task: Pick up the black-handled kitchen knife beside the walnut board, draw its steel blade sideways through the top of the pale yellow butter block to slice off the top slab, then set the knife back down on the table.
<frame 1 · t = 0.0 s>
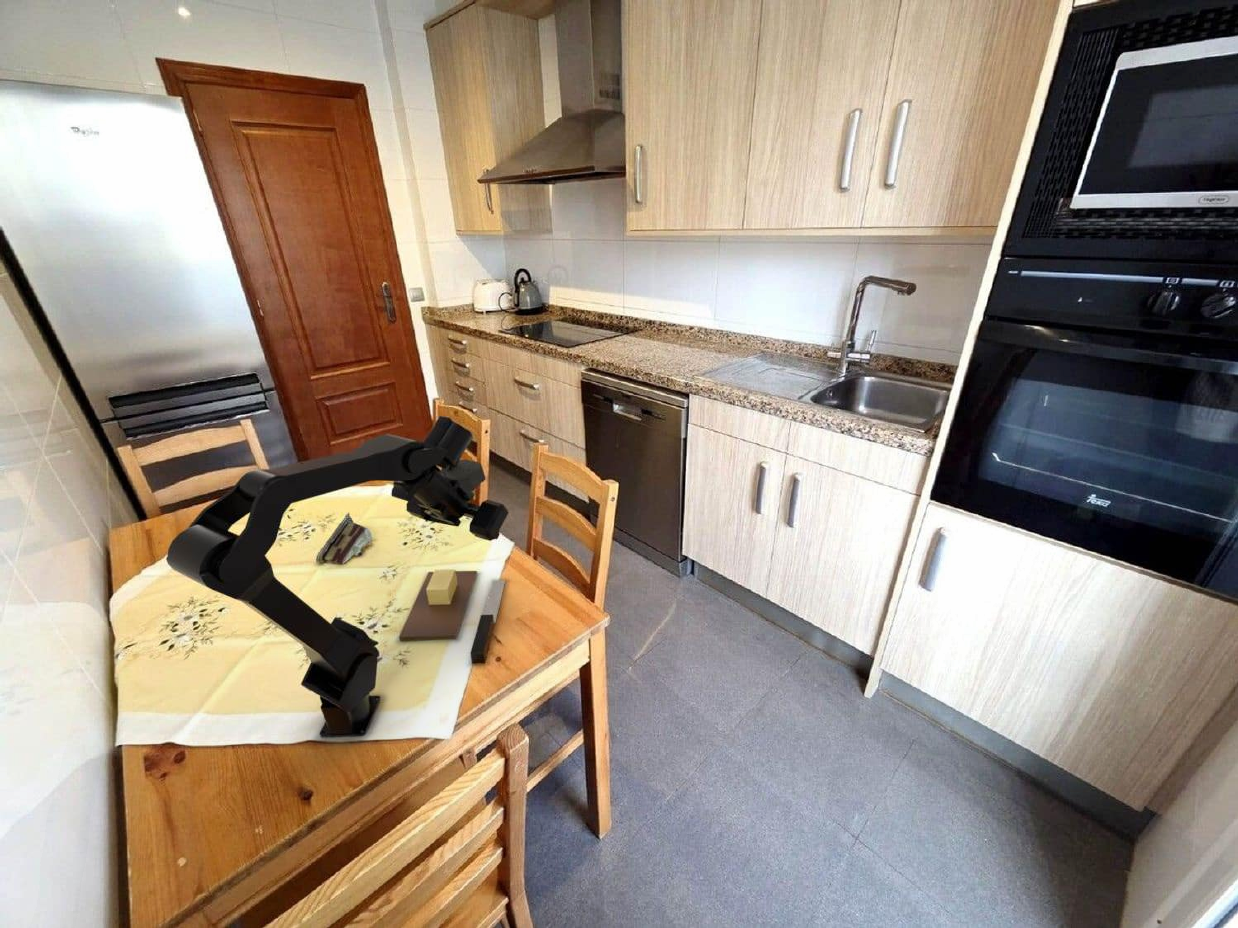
hand: (478, 530, 94), 15 cm above the table, tool tilted 35°, fingers open, 9 cm apart
knife: (486, 630, 92), on the table
chocolate cake: (350, 552, 112), on the table
butter slab: (441, 583, 98), point 3 cm above the table, touching butter block
board: (441, 604, 97), on the table
butter block: (443, 593, 99), point 1 cm above the table, touching board, butter slab
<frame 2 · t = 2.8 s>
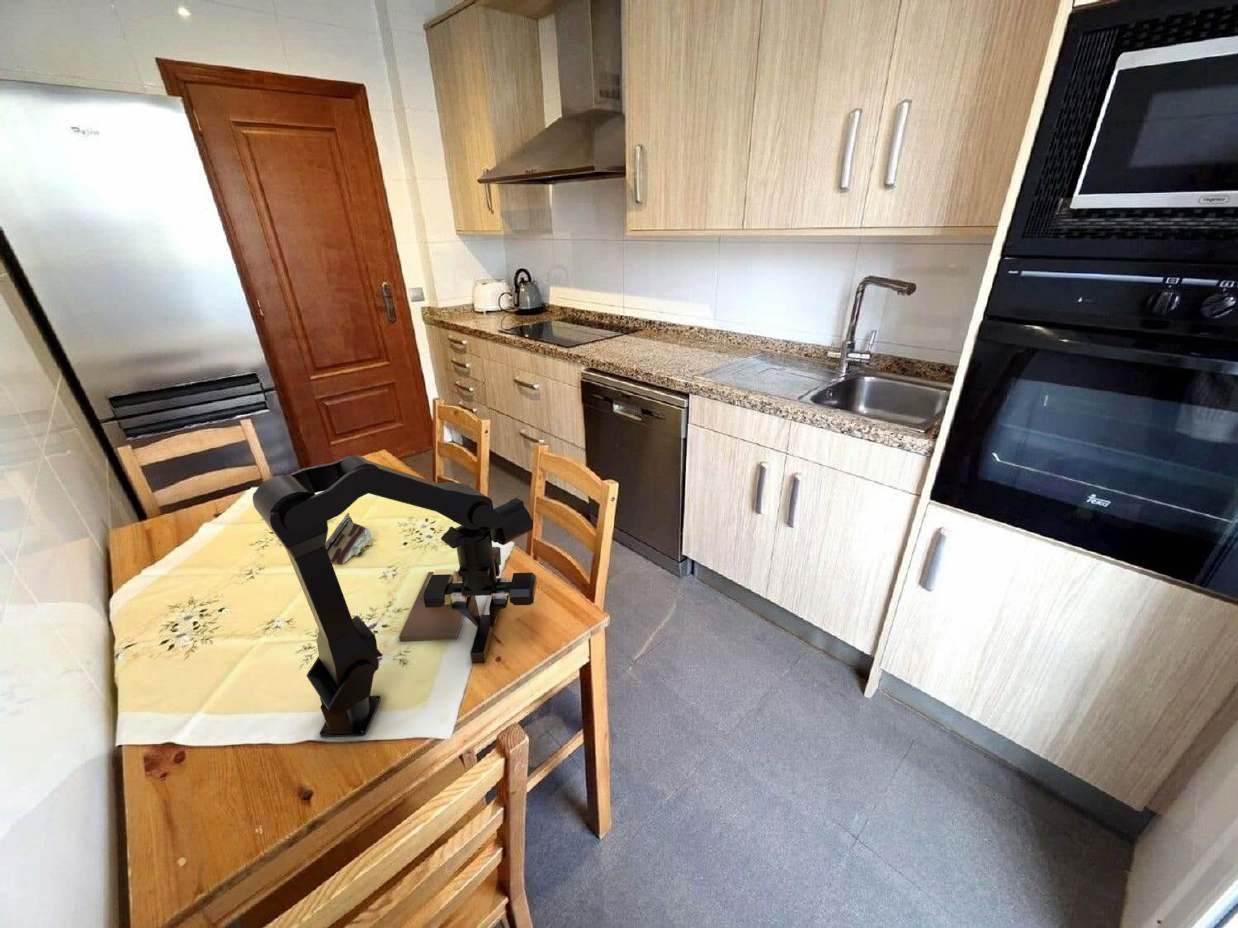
hand: (486, 625, 91), 1 cm above the table, tool pointing down, fingers closed on knife, 2 cm apart
knife: (486, 630, 92), on the table, touching gripper
everything else where it was.
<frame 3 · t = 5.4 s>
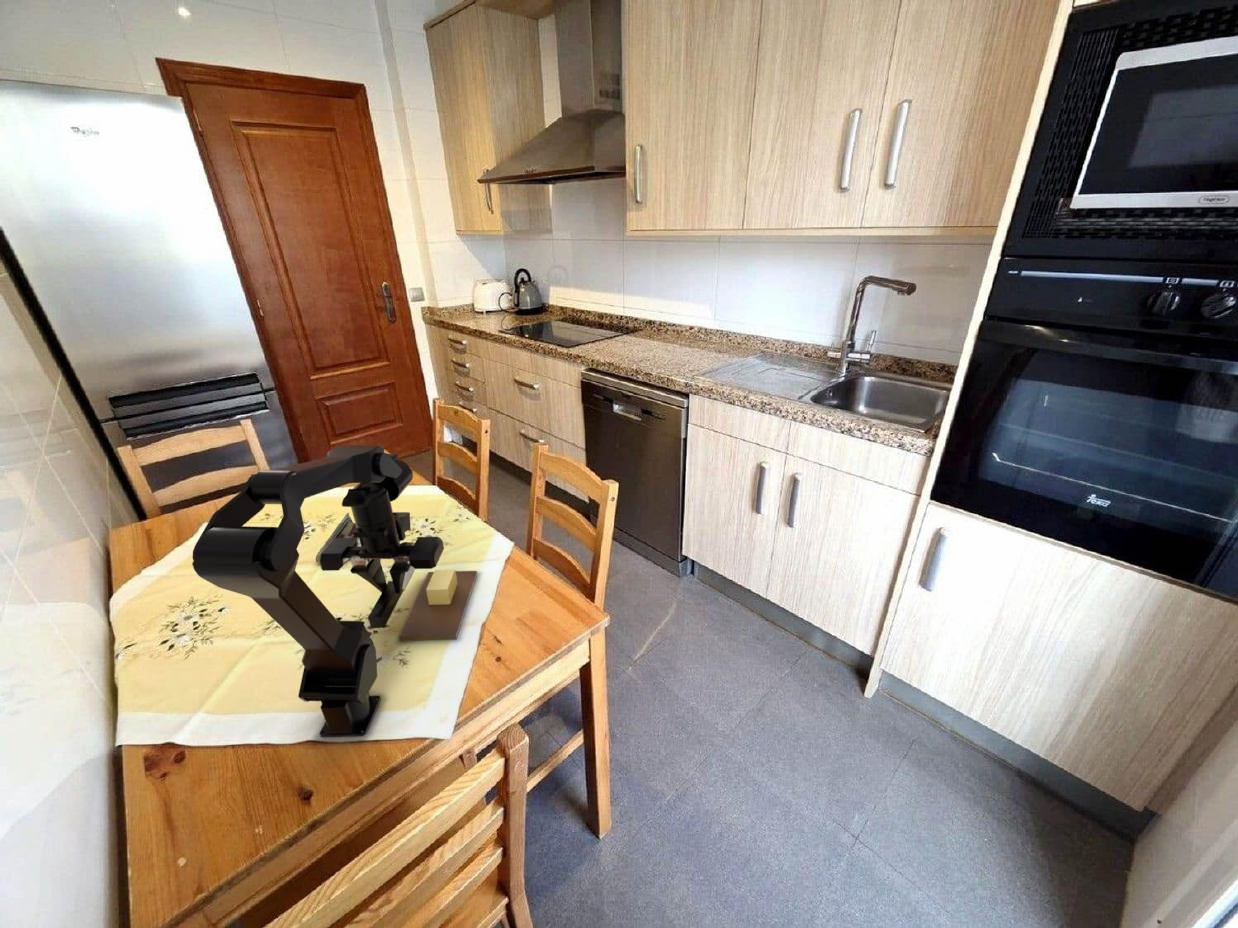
hand: (392, 591, 88), 8 cm above the table, tool pointing down, fingers closed on knife, 2 cm apart
knife: (394, 596, 89), point 7 cm above the table, touching gripper
everything else where it was.
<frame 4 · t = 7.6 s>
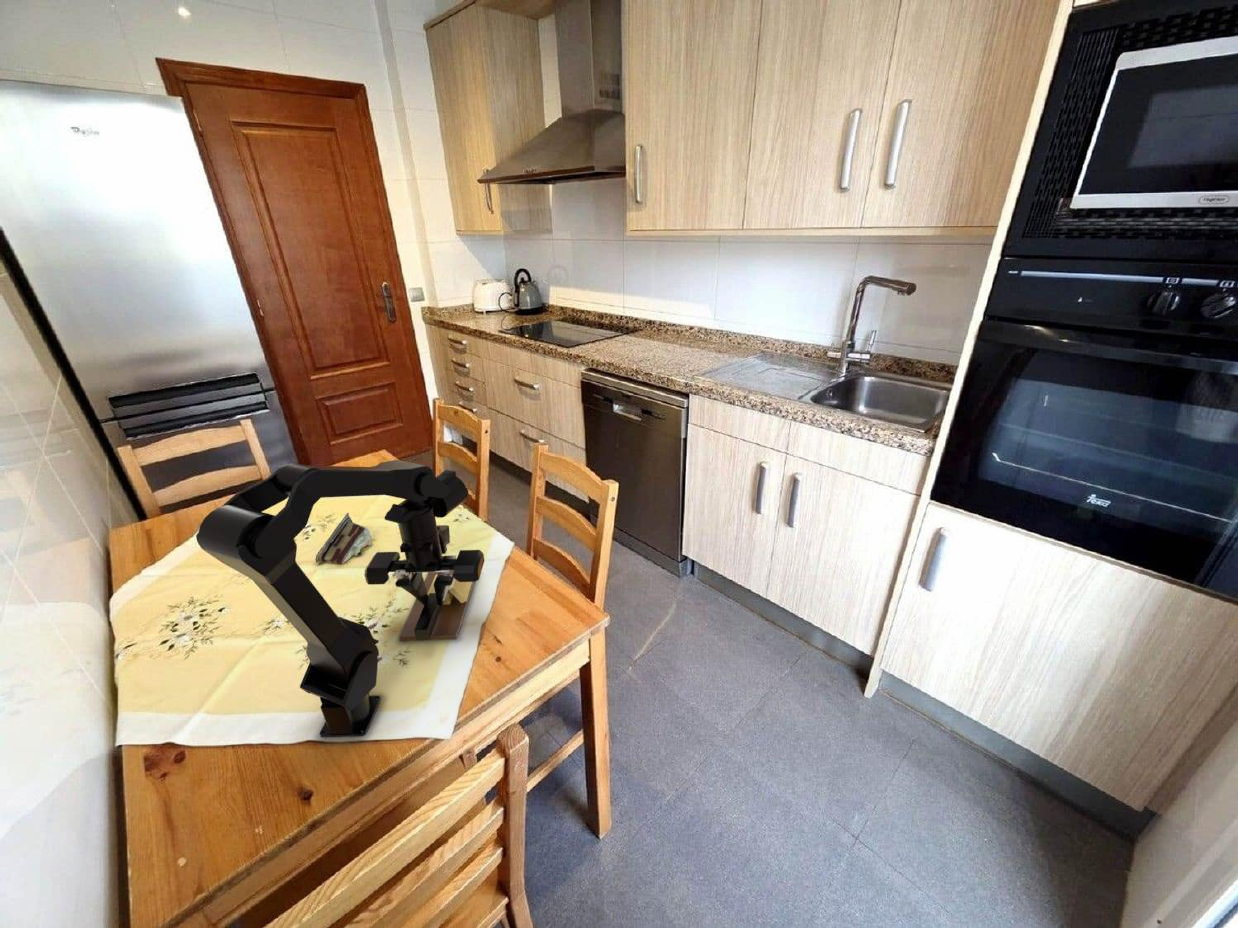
hand: (434, 603, 90), 5 cm above the table, tool pointing down, fingers closed on knife, 2 cm apart
knife: (435, 608, 91), point 4 cm above the table, touching gripper
butter slab: (458, 586, 98), point 3 cm above the table, tilted 59°, touching board
butter block: (443, 593, 99), point 1 cm above the table, touching board
everything else where it was.
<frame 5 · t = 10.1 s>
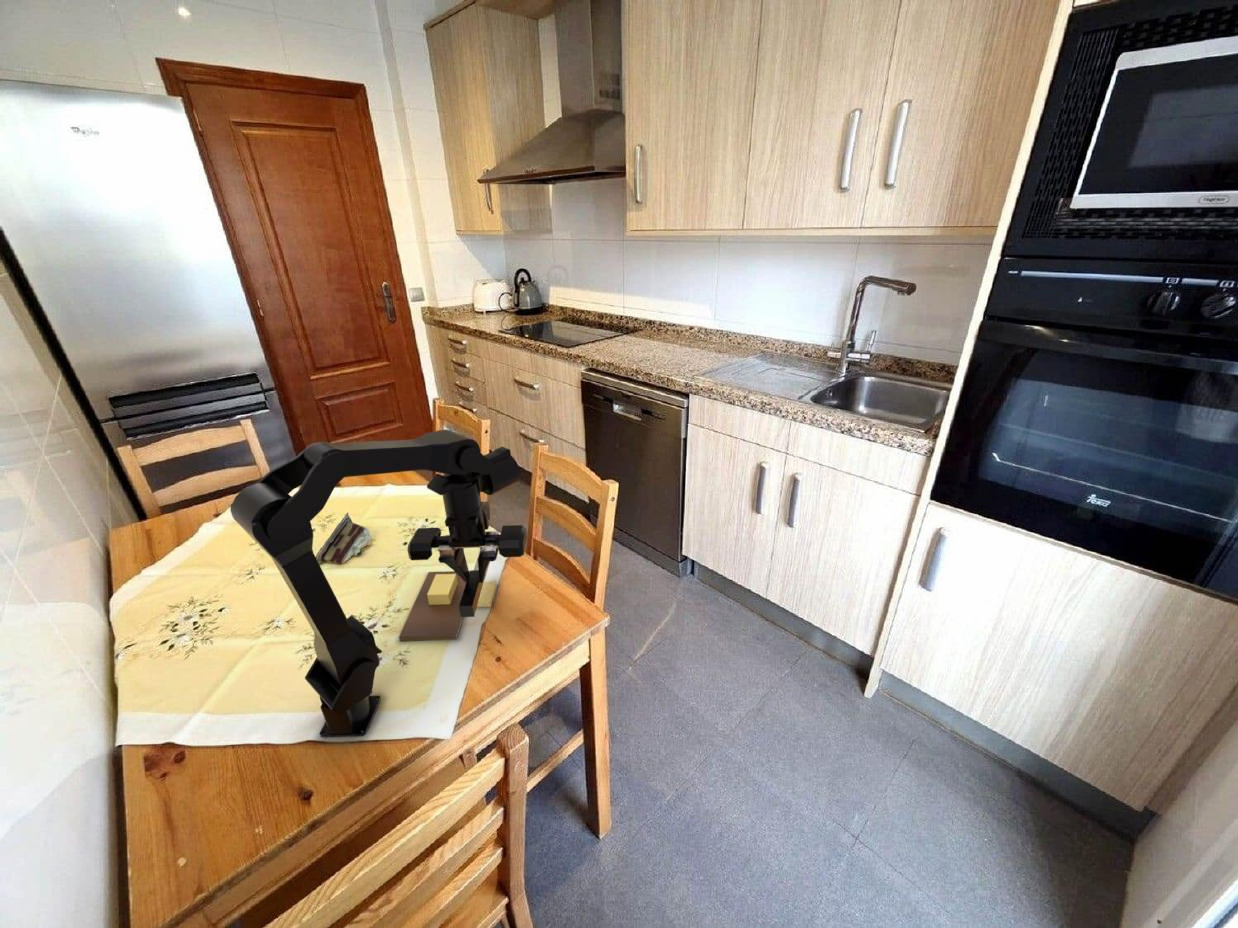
hand: (475, 581, 88), 10 cm above the table, tool pointing down, fingers closed on knife, 2 cm apart
knife: (476, 586, 89), point 9 cm above the table, touching gripper
butter slab: (482, 591, 99), point 1 cm above the table, tilted 180°
everything else where it was.
when the fingers open (1 cm above the table, at t = 12.4 s): knife stays where it is, on the table.
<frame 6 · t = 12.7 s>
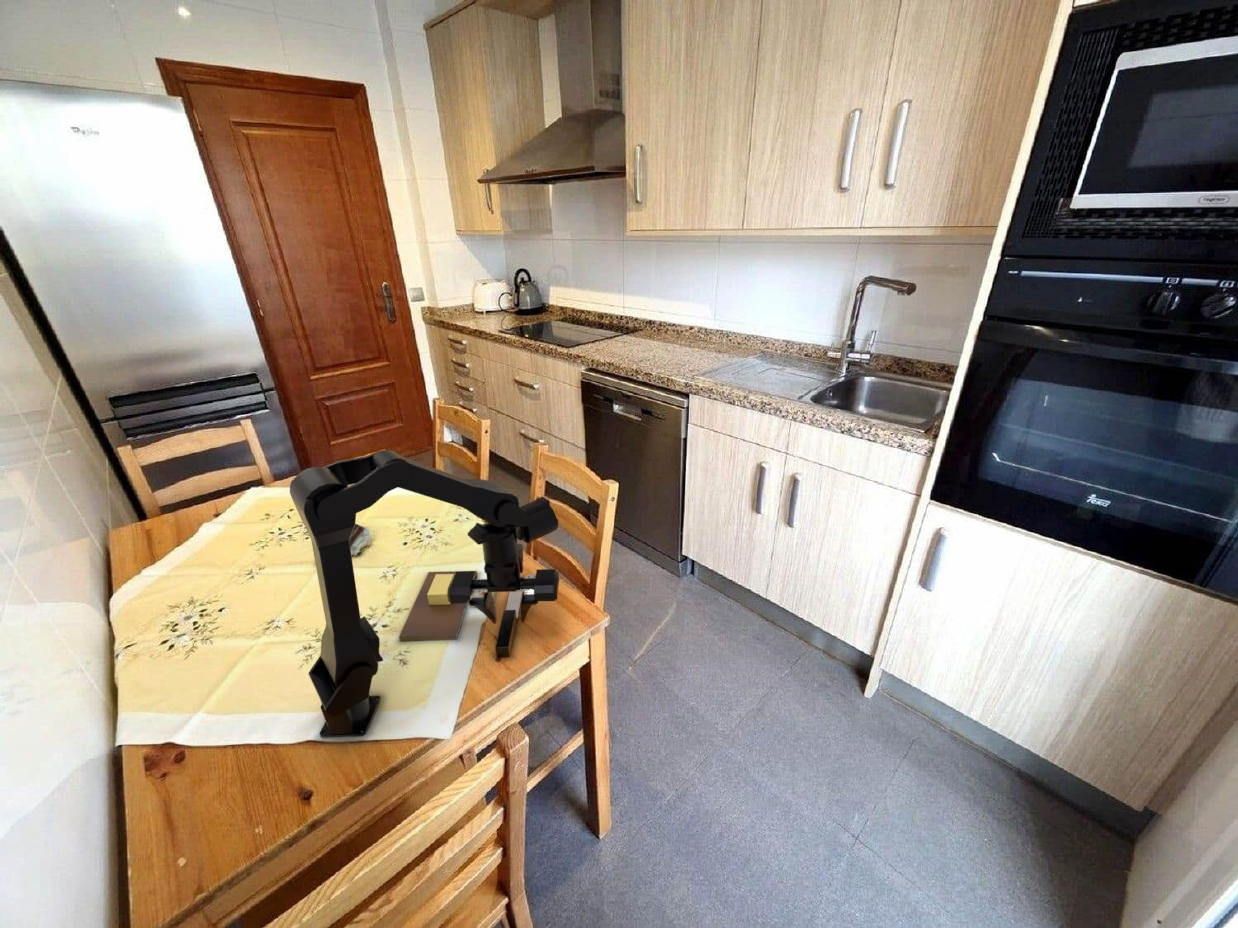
hand: (509, 621, 92), 1 cm above the table, tool pointing down, fingers open, 5 cm apart
knife: (509, 625, 93), on the table
everything else where it was.
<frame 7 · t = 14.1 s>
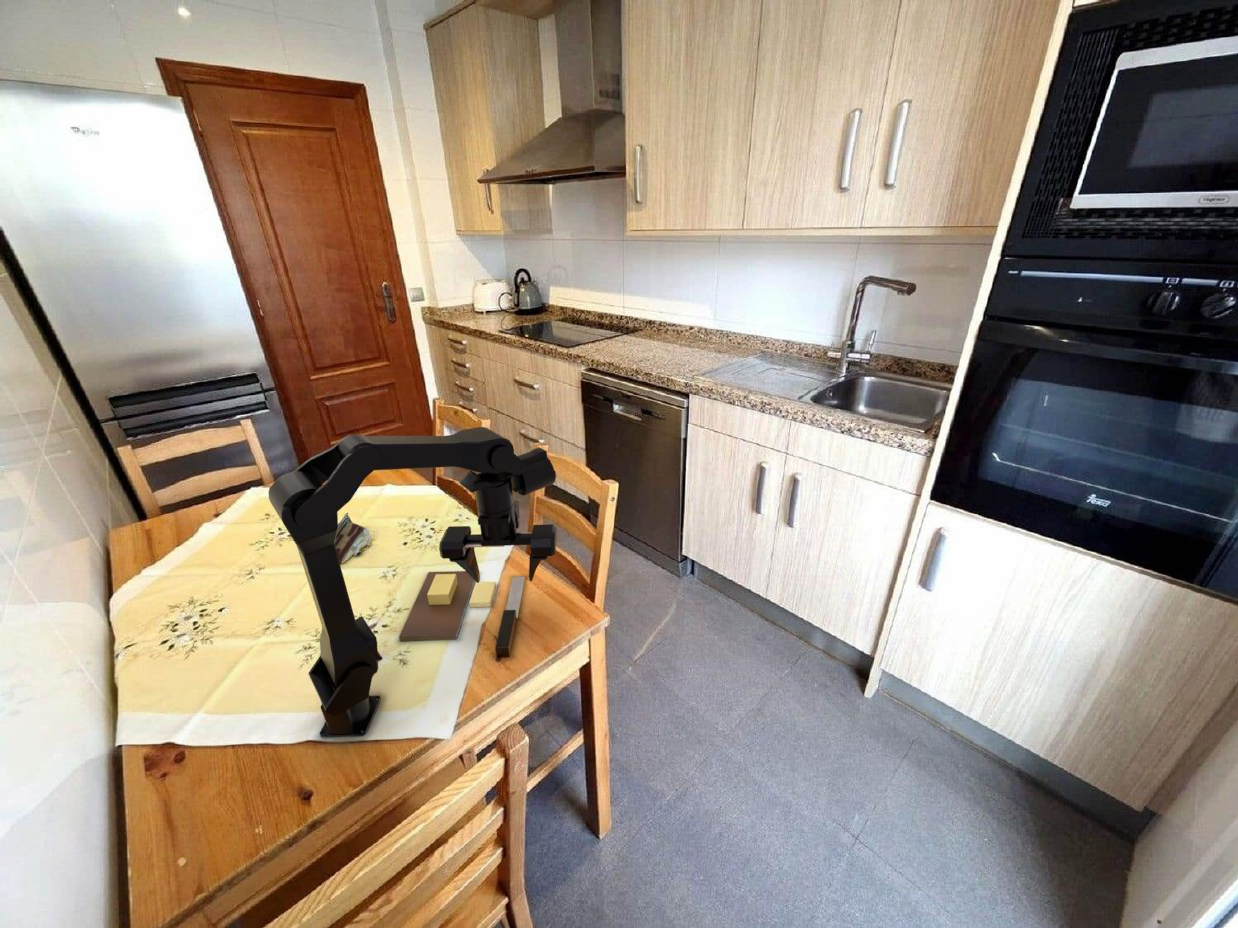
hand: (504, 580, 88), 11 cm above the table, tool pointing down, fingers open, 9 cm apart
nothing on the table moved.
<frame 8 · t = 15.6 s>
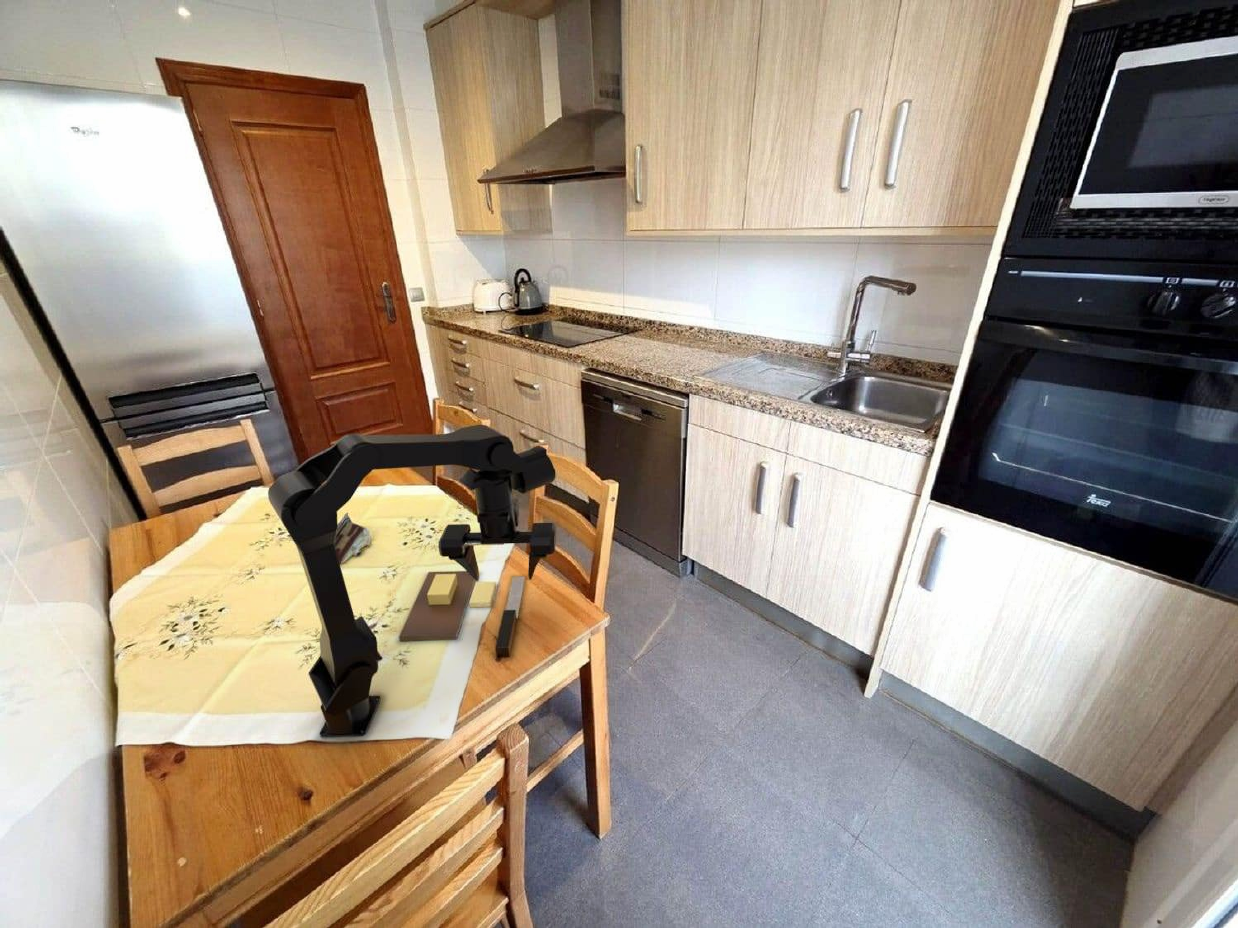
hand: (504, 578, 88), 11 cm above the table, tool pointing down, fingers open, 9 cm apart
nothing on the table moved.
at the end: butter slab point 1.2 cm above the table; butter slab moved 7.9 cm from its start; butter block inside the target area on the board (2.0 cm from its centre), point 1.0 cm above the board's base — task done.
